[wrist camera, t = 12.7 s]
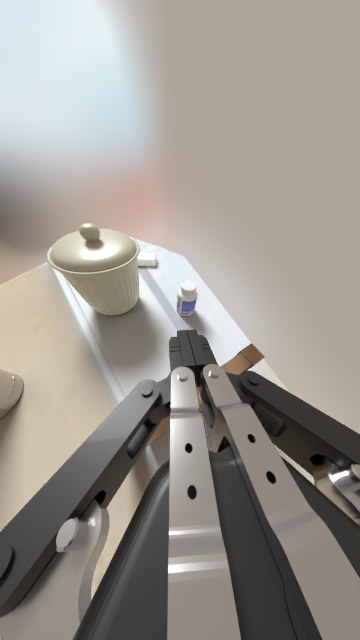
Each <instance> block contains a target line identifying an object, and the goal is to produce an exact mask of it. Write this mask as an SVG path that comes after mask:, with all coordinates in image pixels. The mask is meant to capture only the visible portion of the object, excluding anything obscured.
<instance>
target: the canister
mask: <svg viewBox="0 0 360 640" xmlns="http://www.w3.org/2000/svg"><path fill="white" fill-rule="evenodd" d="M139 251H140V248H139V245H138V243H137V242H136V240H134V239H133V238H132V237H130V236H128V235H126V234H123V233H122V232H119V231H115V230H110V229H98V228H97V227H96V226H95V225H94V224H91V223H84V224H82V225H81V226H80V228H79V231H76V232H73V233H70V234H68V235H66V236H64V237H62V238H60V239H59V240H57V241H56V242H55V243H54V245H53V246H52V247H51V248H50V249H49V250H48V253H47V261H48V263H49V264H50V265H51V266H52V267H53V268H55V269H56V270H58V271H60V272H61V273H62V274H63V275H64V277H65V278H66V279H67V280H68V281H69V282H70V284H71V285H72V286H73V287H74V288H75V289H76V291H77V292H78V293H79V294H80V295H81V296H82V297H83V298H84V300H85V301H86V302H87V303H88V304H89V305H90V306H91V307H92V308H93V309H94V310H96V311H97V312H99V313H101V314H105V315H109V316H111V315H113V316H114V315H119V314H123V313H125V312H128V311H129V310H131V309H132V308H133V307H134V306H135V305H136V303H137V301H138V298H139V276H138V258H137V256H138V254H139Z"/></svg>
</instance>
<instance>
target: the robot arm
mask: <svg viewBox="0 0 360 640" xmlns="http://www.w3.org/2000/svg"><path fill="white" fill-rule="evenodd" d="M169 355H170V368H171V372H170V374H169V376H168V377H167V378H165V379H164V380H162V381H159V382H155V381H153V380H145V381H143V382H141V383H139V384H138V385H137V386H136V387H135V388H134V389H133V391H132V392H131V393H130V394H129V395H128V396H127V397H126V398H125V399H124V400H123V401H122V402H121V403H120V404H119V406H118V407H117V408H116V409H115V410H114V411H113V412H112V413H111V414H110V415H109V416H108V417H107V418H106V419H105V421H104V422H103V423H102V424H101V425H100V426H99V427H98V428H97V429H96V430H95V431H94V432H93V433H92V434H91V436H90V437H89V438H88V439H87V440H86V441H85V442H84V443H83V444H82V445H81V446H80V447H79V448H78V449H77V450H76V452H75V453H74V454H73V455H72V456H71V457H70V458H69V459H68V460H67V461H66V462H65V463H64V464H63V465H62V467H61V468H60V469H59V470H58V471H57V472H56V473H55V474H54V475H53V476H52V477H51V478H50V479H49V480H48V482H47V483H46V484H45V485H44V486H43V487H42V488H41V489H40V490H39V491H38V492H37V493H36V494H35V495H34V497H33V498H32V499H31V500H30V501H29V502H28V503H27V504H26V505H25V506H24V507H23V508H22V509H21V510H20V512H19V513H18V514H17V515H16V516H15V517H14V518H13V519H12V520H11V521H10V522H9V523H8V524H7V525H6V527H5V528H4V529H3V530H2V531H1V532H0V638H1V640H360V434H358V433H357V432H355V431H353V430H352V429H350V428H348V427H346V426H345V425H343V424H341V423H340V422H338V421H336V420H335V419H333V418H331V417H330V416H328V415H326V414H324V413H323V412H321V411H320V410H318V409H316V408H314V407H313V406H311V405H309V404H308V403H306V402H304V401H303V400H301V399H299V398H298V397H296V396H294V395H292V394H291V393H289V392H288V391H286V390H284V389H282V388H281V387H279V386H277V385H276V384H274V383H272V382H271V381H269V380H267V379H266V378H264V377H262V376H261V375H259V374H257V373H255V372H253V371H244V372H242V373H241V375H236V374H231V373H228V372H225V371H224V370H223V368H221V367H220V366H218V364H217V362H216V359H215V357H214V355H213V353H212V350H211V348H210V346H209V343H208V341H207V339H206V338H205V337H204V336H203V335H198V334H197V331H196V329H195V330H179V331H177V337H171V339H170V341H169ZM197 387H198V389H199V400H200V403H201V406H202V410H203V413H204V416H205V419H206V423H207V426H208V429H209V434H210V442H211V447H212V450H213V452H211V451H208V448H207V441H206V435H205V429H204V423H203V417H202V413H201V411H200V409H199V404H198V398H197V391H196V388H197ZM22 390H23V381H22V379H21V378H20V377H19V376H17V375H15V374H12V373H9V372H6V371H3V370H0V418H2V417H3V416H4V415H5V414H6V413H8V412H9V411H10V410H11V409H12V407H13V406H14V405H15V404H16V402H17V401H18V399H19V398H20V396H21V393H22ZM169 416H170V460H168V461H167V462H166V463H164V464H163V465H162V466H161V467H160V468H159V469H158V471H157V472H156V473H155V475H154V476H153V478H152V479H151V481H150V483H149V485H148V487H147V489H146V491H145V493H144V495H143V497H142V499H141V501H140V503H139V505H138V507H137V509H136V511H135V513H134V515H133V517H132V519H131V521H130V523H129V525H128V527H127V529H126V531H125V533H124V536H123V538H122V540H121V542H120V544H119V546H118V548H117V550H116V552H115V554H114V556H113V558H112V560H111V562H110V564H109V566H108V568H107V570H106V572H105V574H104V576H103V578H102V580H101V582H100V584H99V586H98V588H97V590H96V593H95V595H94V597H93V599H92V601H91V588H92V580H93V575H94V571H95V567H96V564H97V561H98V559H99V557H100V554H101V552H102V550H103V548H104V546H105V543H106V540H107V536H108V532H109V514H108V511H107V509H106V508H107V506H108V505H109V503H110V501H111V500H112V498H113V497H114V495H115V494H116V492H117V490H118V489H119V487H120V486H121V484H122V482H123V481H124V479H125V478H126V476H127V475H128V473H129V471H130V470H131V468H132V467H133V465H134V463H135V462H136V460H137V459H138V457H139V456H140V454H141V452H142V451H143V449H144V448H145V446H146V444H147V443H148V441H149V440H150V438H151V437H152V435H153V433H154V432H155V430H156V429H157V427H158V425H159V424H160V422H161V420H163V419H165V418H167V417H169ZM273 444H274V445H276V446H277V447H278V448H279V449H280V450H282V451H283V452H284V453H285V454H287V455H288V456H289V457H290V458H291V459H293V460H294V461H295V462H296V463H297V464H299V465H300V466H301V467H302V468H304V469H305V470H306V471H307V472H308V473H310V474H311V475H312V476H313V478H314V480H315V481H314V485H315V486H314V485H313V484H312V483H311V482H310V481H309V480H307V479H306V478H305V477H304V476H303V475H302V474H301V473H300V472H298V471H297V470H296V469H295V468H294V467H293V466H292V465H291V464H289V463H288V462H287V461H286V460H285V459H284V458H282V457H281V456H280V455H279V453H278V452H277V450H276V448H275V447H274V445H273Z"/></svg>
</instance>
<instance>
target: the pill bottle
mask: <svg viewBox="0 0 360 640" xmlns="http://www.w3.org/2000/svg"><path fill="white" fill-rule="evenodd" d="M196 299H197V291H196V284H195V283H194V282H192V281H184V282H182V283H181V288H180V289H179V291H178V296H177V312H178V313H179V314H180V315H182V316H190V315H192V314H193V312H194V308H195V304H196Z"/></svg>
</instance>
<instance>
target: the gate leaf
mask: <svg viewBox="0 0 360 640" xmlns="http://www.w3.org/2000/svg"><path fill="white" fill-rule="evenodd" d="M263 358H264V356H263V355H262V354H261V353H260V352H259V351H258V350H257V348H256V347H255V346H254V345H253V344H252V343H251V344H250V345H249V346H247V347H246V348H244V349H243V350H241V351H240V352H239V353H238V354H237V355H236V356H235V357H234V358H233V359H231V360H230V361H228V362H227V363H225V364H224V365H223V366H221V368H223V370H224V371H225V372H228V373H231V374H236V375H241V373H242V372H244V371H247V370H248V369H249V368H251V367H252V366H254V365H255V364H256V363H258V362H259V361H260V360H261V359H263ZM196 391H197V398H198V404H199V405H201V403H200V400H199V389H198V387H197V388H196ZM169 429H170V416H169V417H167V418H165V419H163V420H161V422H160V424H159V425H158V427H157V429H156V430H155V432H154V433H153V435H152V437H151V438H150V440H149V441H148V443H147V444H146V446H145V447H147V446H148V445H149V444H151V443H152V442H153V441H154V440H156V439H157V438H158V437H160V436H161V435H162V434H163V433H165V432H166V431H167V430H169Z"/></svg>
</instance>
